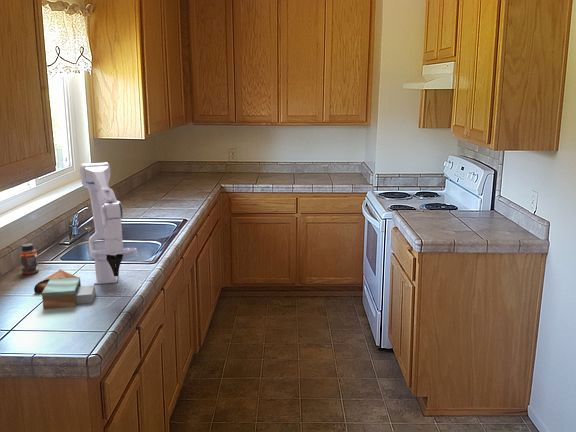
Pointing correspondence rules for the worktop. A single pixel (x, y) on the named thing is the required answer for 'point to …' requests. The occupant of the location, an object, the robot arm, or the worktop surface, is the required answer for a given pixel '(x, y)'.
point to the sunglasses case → (57, 275)
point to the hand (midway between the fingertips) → (116, 275)
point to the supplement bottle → (28, 259)
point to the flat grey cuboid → (85, 294)
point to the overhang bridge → (60, 293)
